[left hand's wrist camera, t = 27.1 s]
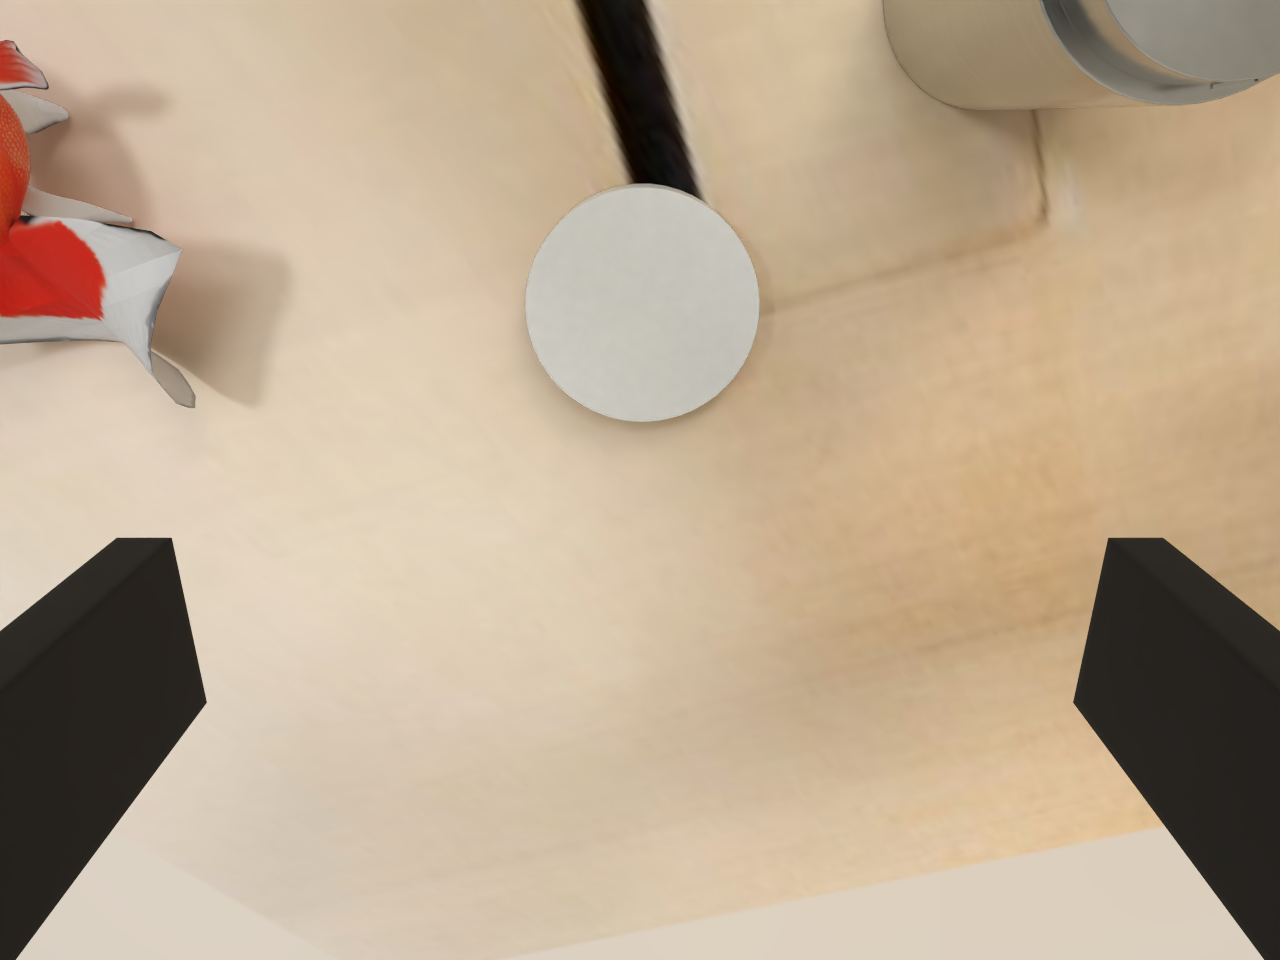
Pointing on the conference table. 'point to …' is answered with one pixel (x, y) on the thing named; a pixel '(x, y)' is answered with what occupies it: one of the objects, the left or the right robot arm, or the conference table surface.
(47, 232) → the fish
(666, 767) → the conference table surface
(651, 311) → the lid
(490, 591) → the conference table surface
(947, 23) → the jar
